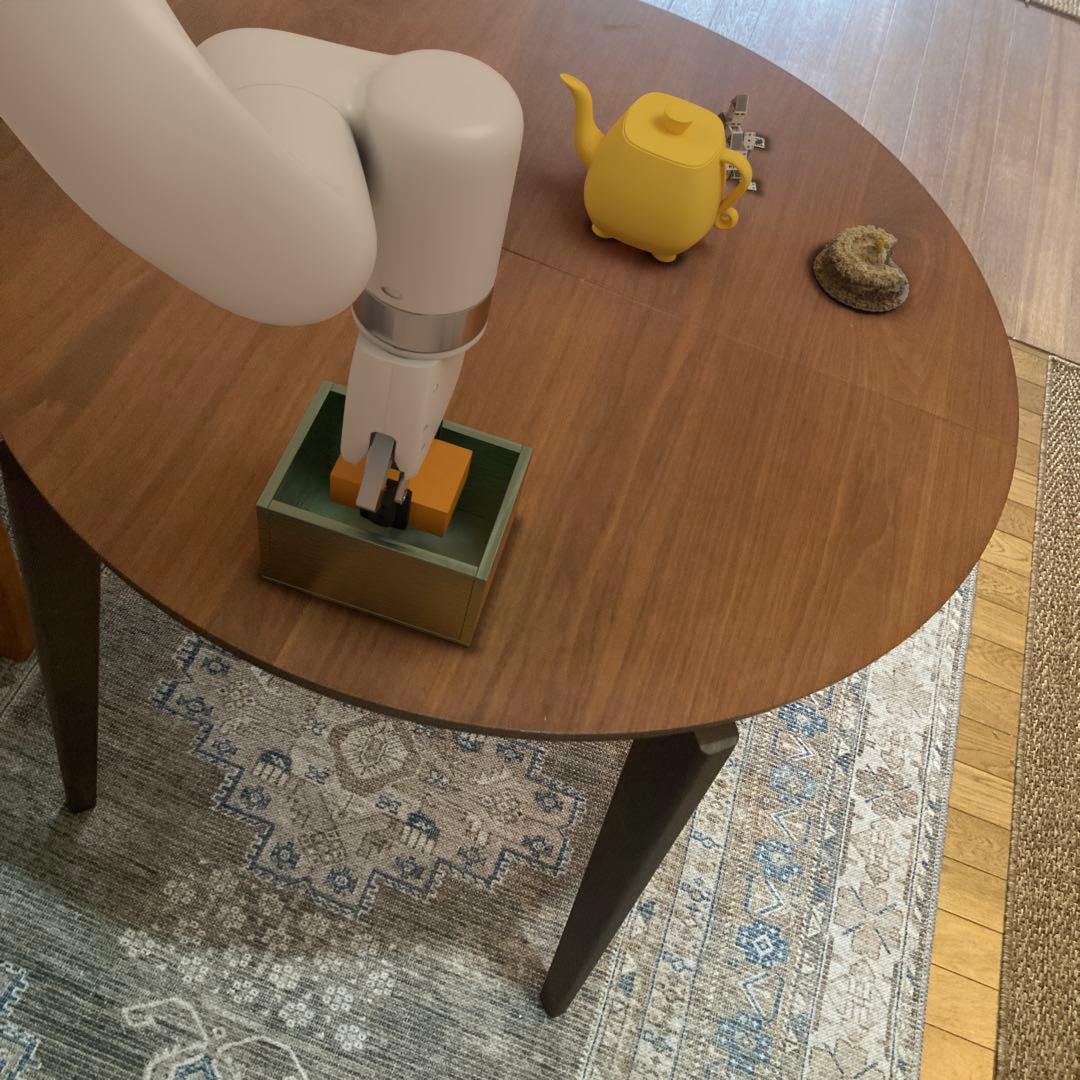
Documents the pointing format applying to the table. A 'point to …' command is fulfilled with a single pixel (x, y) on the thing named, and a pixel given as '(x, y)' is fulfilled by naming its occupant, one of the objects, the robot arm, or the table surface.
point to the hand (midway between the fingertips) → (399, 484)
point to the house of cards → (738, 134)
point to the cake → (862, 269)
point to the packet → (415, 485)
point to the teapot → (656, 172)
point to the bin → (388, 530)
